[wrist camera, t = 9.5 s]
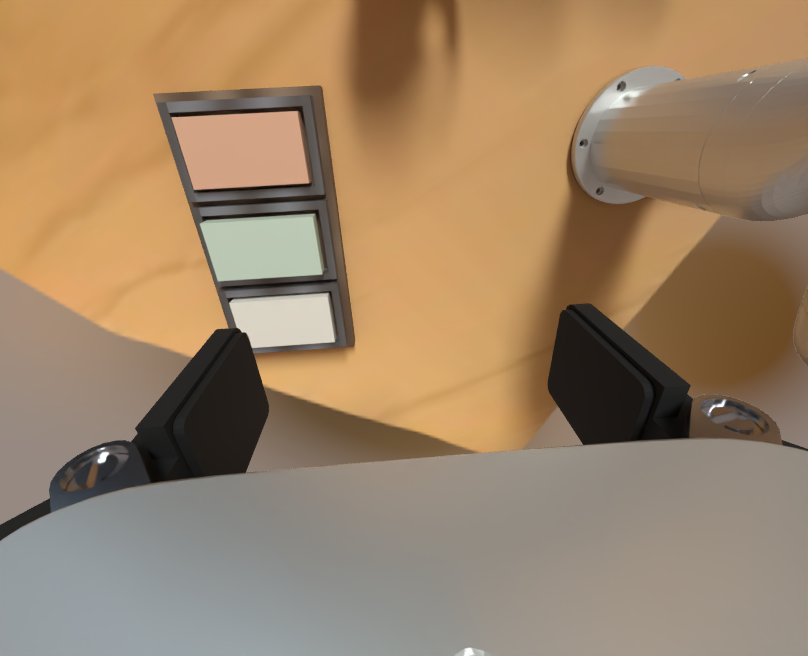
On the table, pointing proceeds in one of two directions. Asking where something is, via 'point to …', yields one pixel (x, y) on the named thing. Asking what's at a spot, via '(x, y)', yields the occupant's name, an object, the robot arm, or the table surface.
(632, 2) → the table surface
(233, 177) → the terracotta tile
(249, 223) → the sage tile
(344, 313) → the dark grey tile board
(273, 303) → the cream tile
